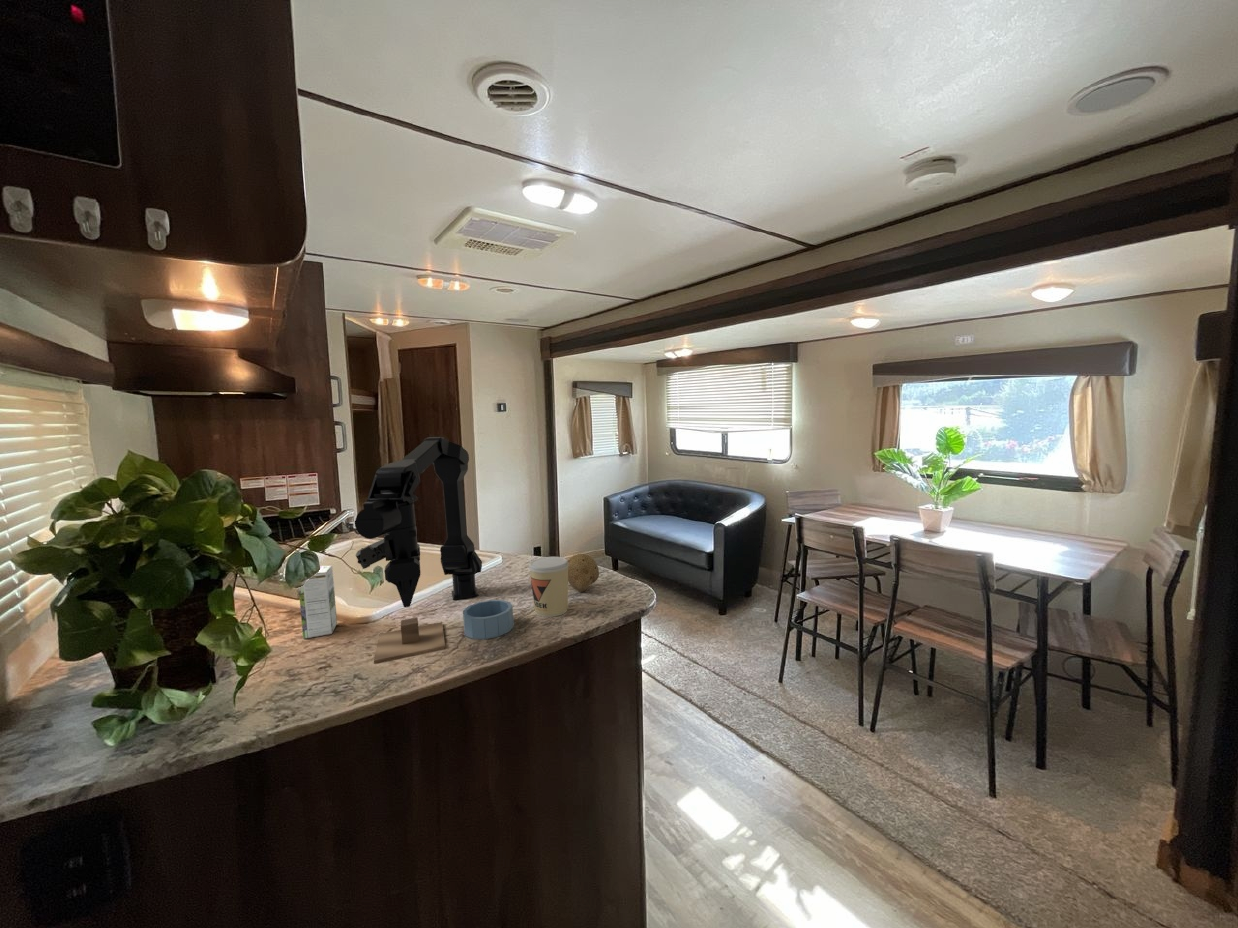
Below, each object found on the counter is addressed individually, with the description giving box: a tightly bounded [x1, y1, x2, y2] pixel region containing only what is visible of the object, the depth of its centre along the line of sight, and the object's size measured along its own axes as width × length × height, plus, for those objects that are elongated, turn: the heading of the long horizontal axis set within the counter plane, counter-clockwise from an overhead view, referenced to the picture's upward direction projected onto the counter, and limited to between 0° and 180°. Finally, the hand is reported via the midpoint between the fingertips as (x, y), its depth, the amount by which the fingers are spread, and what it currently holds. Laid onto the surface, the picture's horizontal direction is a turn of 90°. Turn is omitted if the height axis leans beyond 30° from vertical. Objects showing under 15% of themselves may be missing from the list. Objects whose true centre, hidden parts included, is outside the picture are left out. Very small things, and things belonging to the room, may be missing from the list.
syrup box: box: [298, 565, 338, 639], centre depth 108 cm, size 6×6×14 cm
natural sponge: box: [567, 553, 600, 593], centre depth 127 cm, size 9×9×10 cm
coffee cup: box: [528, 556, 569, 618], centre depth 114 cm, size 9×9×12 cm
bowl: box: [462, 599, 515, 640], centre depth 106 cm, size 10×10×4 cm
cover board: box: [373, 616, 446, 664], centre depth 101 cm, size 13×13×5 cm
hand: (407, 599), depth 101 cm, fingers open, 9 cm apart
